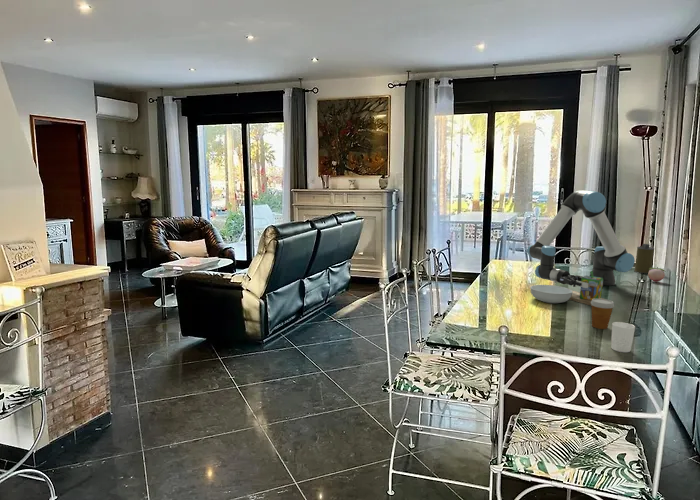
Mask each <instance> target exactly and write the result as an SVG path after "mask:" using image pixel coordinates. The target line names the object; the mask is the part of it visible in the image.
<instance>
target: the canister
mask: <svg viewBox="0 0 700 500" xmlns="http://www.w3.org/2000/svg"><path fill="white" fill-rule="evenodd" d="M636 248H637V249H636V256H635V263H634V270H633V271H634V272H635V273H637V272H639V273H638V274H643V273H648V272H649V270H651V269H650V268H653V267H652V266H653V259H654V252H655V248H654V247H651V246H650V244H649V243H642V245H639V246H637V247H636Z"/></svg>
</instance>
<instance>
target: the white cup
mask: <svg viewBox="0 0 700 500" xmlns="http://www.w3.org/2000/svg"><path fill="white" fill-rule="evenodd" d="M635 329H636V326H635V325H634V324H632V323H627V322H624V321H623V322H622V321H613V322H612V323H611V338H610V339H611V341H610V342H611V343H610V345H611V346H610V348H611V349H612V350H613V351H616V352H620V353H630V352H631V349H632V346H633V342H634V336H635Z"/></svg>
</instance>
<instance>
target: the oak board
mask: <svg viewBox="0 0 700 500" xmlns="http://www.w3.org/2000/svg"><path fill="white" fill-rule="evenodd" d="M572 291H573V293H572V296H571V298H570V299H569V301H573V302H577V303H580V304H584V305H587V306H591V301H592V300H586V299H580V291H576V290H572ZM601 299H604V298H602V297H601ZM605 299H606V300H608V299H607V298H605Z"/></svg>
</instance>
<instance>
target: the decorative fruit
mask: <svg viewBox="0 0 700 500" xmlns="http://www.w3.org/2000/svg"><path fill="white" fill-rule="evenodd" d="M650 269H651V270H649V272H648V274H647V276H648V278H649V279H650V280H651V281H652V282H654V283H657V282H661V281H662V280H664V278H665V276H666V275H665V274H666V273H665V272H666V270H665V269H663V268H658V266H657V267H652V268H650Z"/></svg>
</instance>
